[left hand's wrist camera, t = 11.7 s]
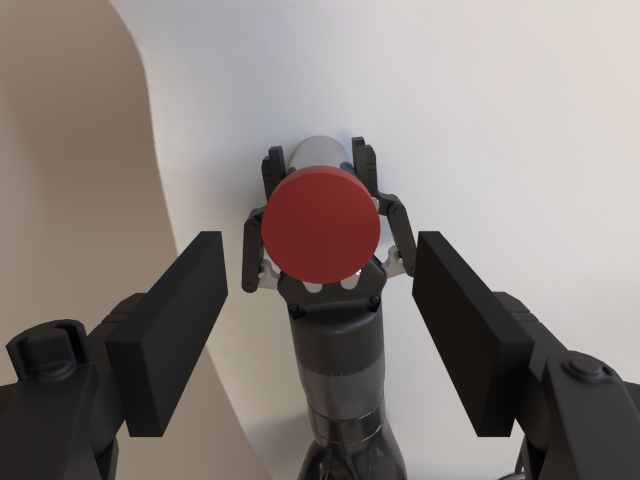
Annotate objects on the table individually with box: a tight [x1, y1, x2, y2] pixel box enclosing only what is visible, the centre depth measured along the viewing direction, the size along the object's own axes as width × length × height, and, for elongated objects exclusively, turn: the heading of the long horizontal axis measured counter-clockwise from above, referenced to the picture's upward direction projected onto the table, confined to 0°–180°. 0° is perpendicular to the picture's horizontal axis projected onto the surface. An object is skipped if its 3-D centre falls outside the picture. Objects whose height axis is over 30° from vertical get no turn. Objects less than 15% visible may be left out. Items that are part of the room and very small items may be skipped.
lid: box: [261, 165, 380, 284], centre depth 17 cm, size 5×5×2 cm
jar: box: [284, 136, 358, 179], centre depth 24 cm, size 5×5×15 cm
